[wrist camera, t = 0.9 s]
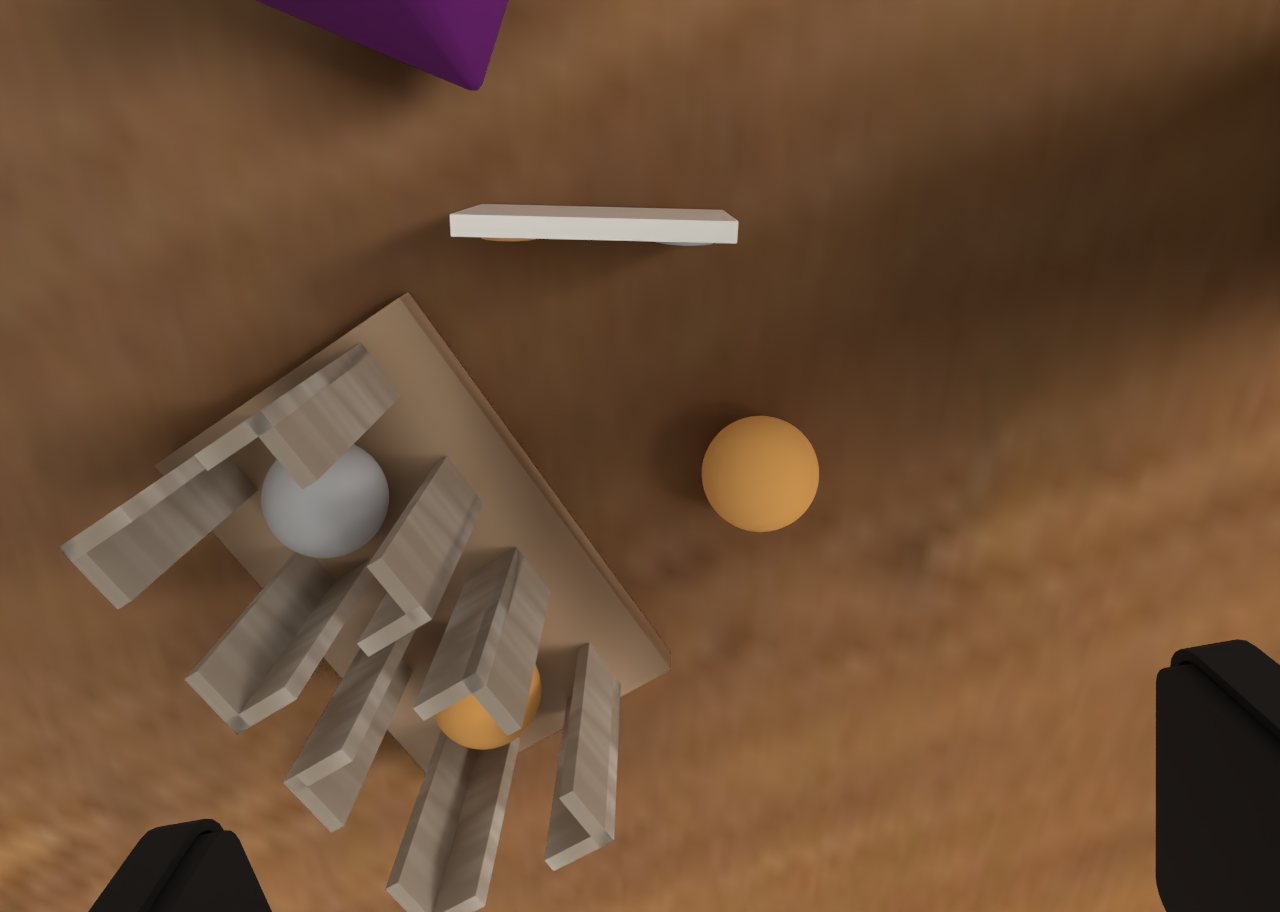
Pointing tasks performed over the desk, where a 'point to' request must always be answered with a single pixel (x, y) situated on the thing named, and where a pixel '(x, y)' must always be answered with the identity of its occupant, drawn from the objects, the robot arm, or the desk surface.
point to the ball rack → (403, 601)
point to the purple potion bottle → (413, 31)
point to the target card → (595, 224)
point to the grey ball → (327, 506)
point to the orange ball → (760, 473)
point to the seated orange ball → (484, 720)
